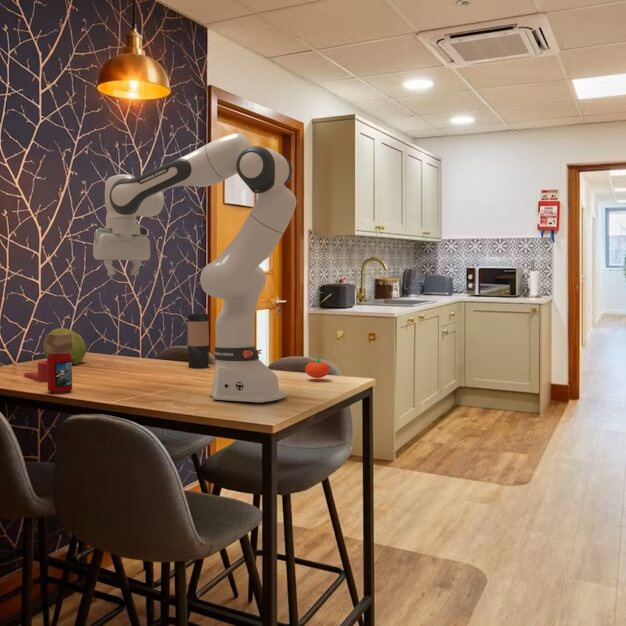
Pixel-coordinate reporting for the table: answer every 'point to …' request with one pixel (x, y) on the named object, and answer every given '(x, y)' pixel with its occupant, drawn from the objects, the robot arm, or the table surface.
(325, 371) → the red tomato
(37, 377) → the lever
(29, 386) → the table surface
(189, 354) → the travel mug
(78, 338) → the fruit
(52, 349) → the walnut cube
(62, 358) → the beverage can
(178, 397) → the table surface
